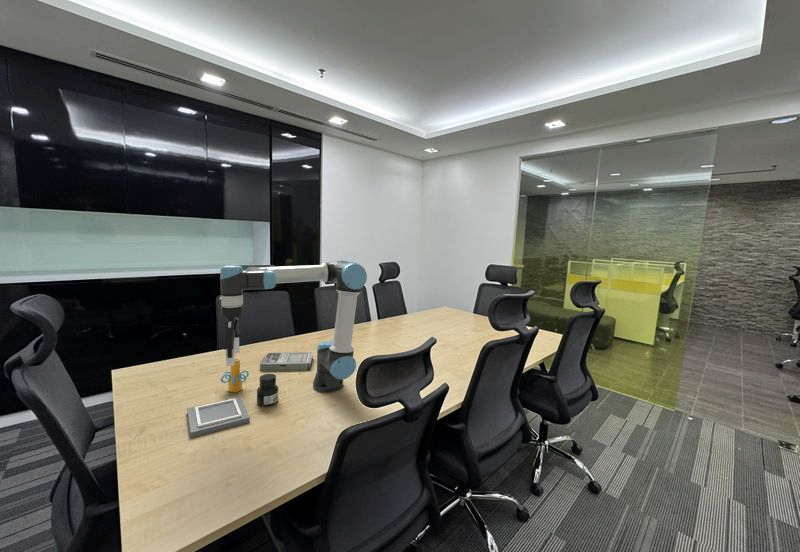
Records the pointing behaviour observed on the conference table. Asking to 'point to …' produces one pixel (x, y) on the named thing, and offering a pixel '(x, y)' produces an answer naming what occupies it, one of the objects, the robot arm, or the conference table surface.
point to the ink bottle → (267, 390)
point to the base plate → (217, 416)
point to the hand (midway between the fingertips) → (233, 358)
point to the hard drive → (286, 361)
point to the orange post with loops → (235, 377)
